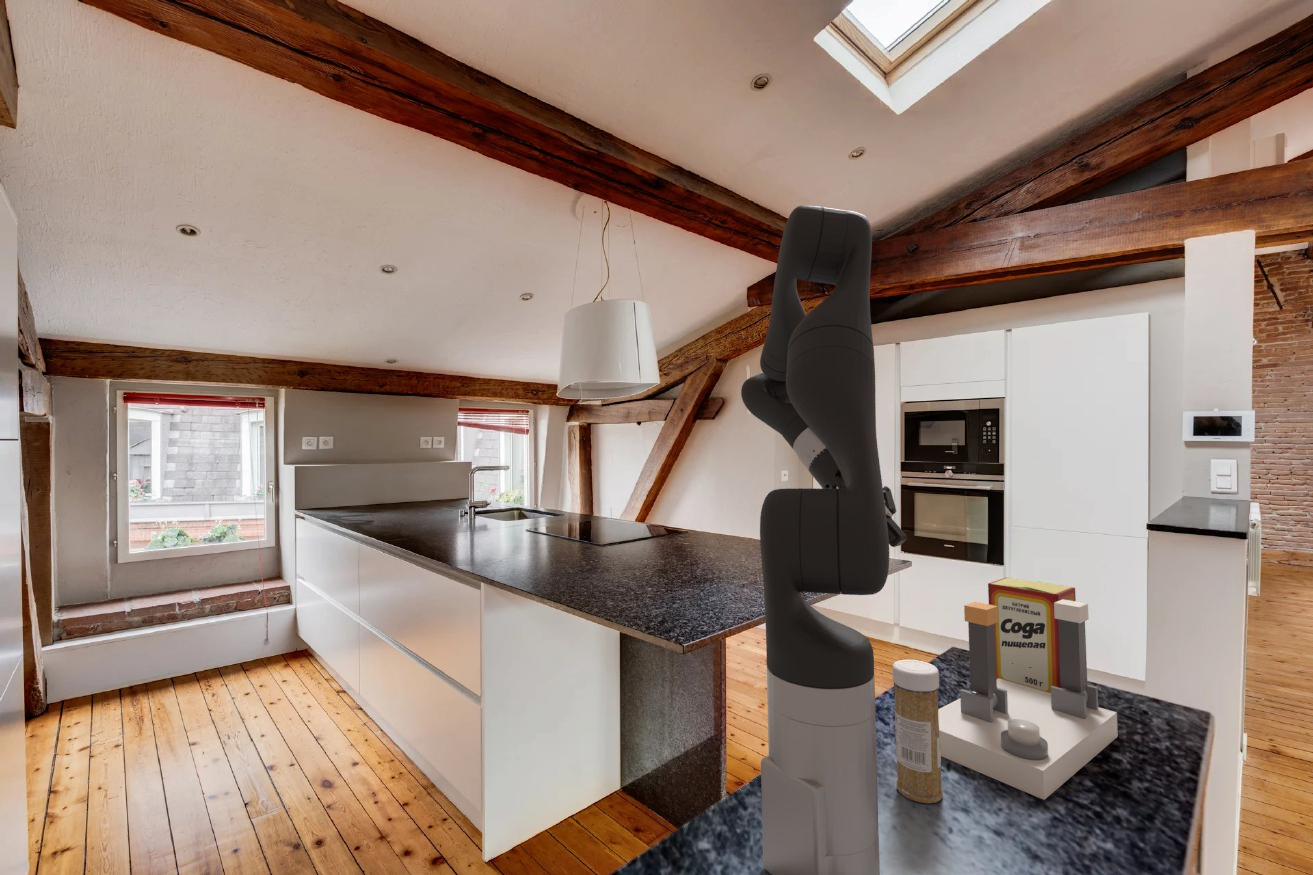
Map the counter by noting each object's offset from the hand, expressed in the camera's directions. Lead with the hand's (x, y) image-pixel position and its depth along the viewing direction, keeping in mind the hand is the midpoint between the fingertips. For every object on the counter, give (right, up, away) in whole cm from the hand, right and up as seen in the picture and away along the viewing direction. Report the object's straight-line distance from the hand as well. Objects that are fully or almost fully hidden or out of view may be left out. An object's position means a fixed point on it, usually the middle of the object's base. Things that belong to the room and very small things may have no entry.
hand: (900, 542), depth 82 cm
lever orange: (+7, -20, -9) cm, 23 cm away
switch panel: (+10, -23, -10) cm, 27 cm away
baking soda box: (+23, -23, +5) cm, 33 cm away
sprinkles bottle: (-7, -23, -21) cm, 32 cm away
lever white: (+19, -19, -8) cm, 28 cm away
